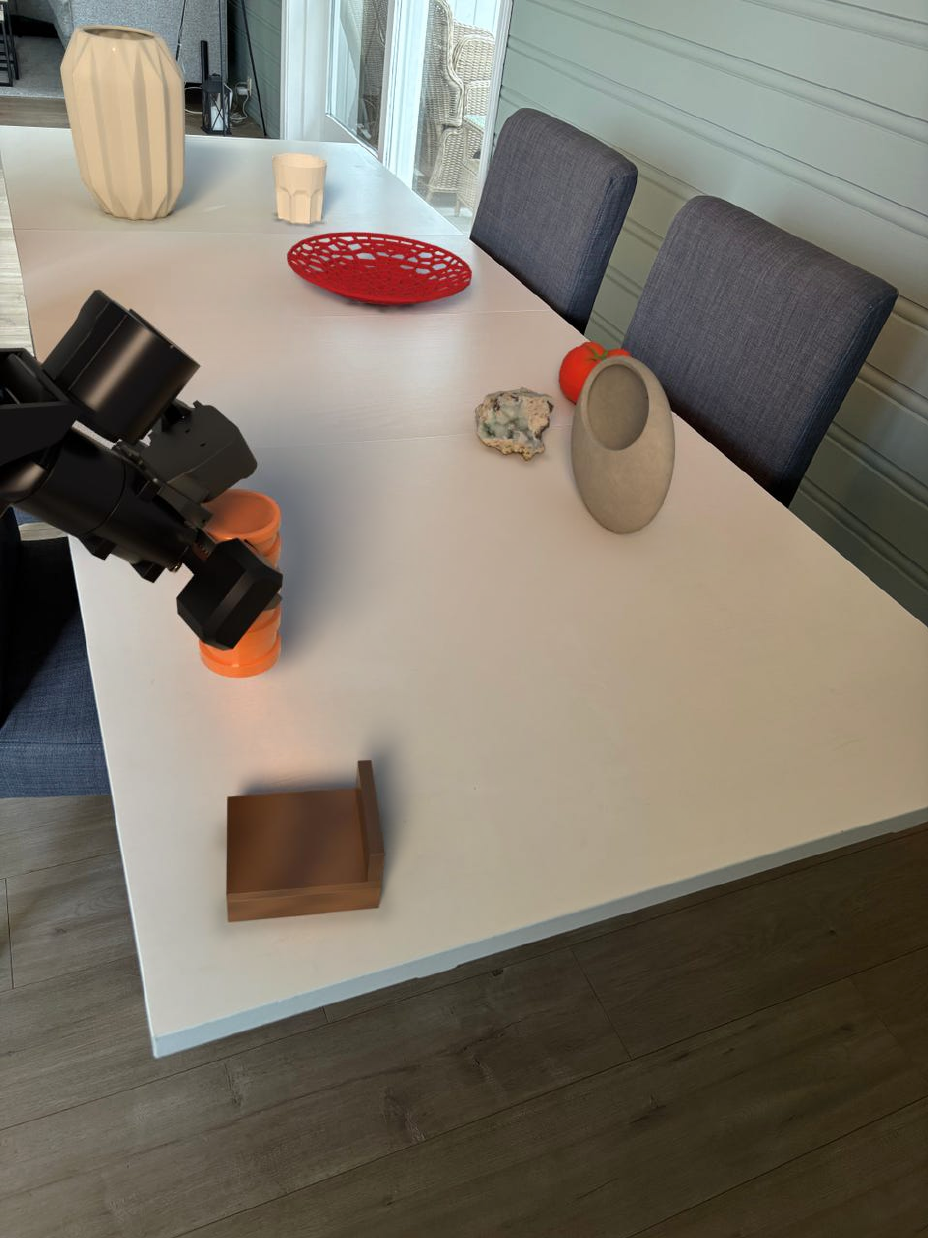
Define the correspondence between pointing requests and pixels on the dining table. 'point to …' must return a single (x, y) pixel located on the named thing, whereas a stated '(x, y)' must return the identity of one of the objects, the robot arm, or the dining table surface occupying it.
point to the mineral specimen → (514, 421)
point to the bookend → (304, 851)
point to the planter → (623, 444)
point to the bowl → (379, 269)
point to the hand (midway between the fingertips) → (254, 579)
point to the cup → (299, 186)
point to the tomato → (582, 366)
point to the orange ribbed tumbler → (260, 525)
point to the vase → (126, 118)
